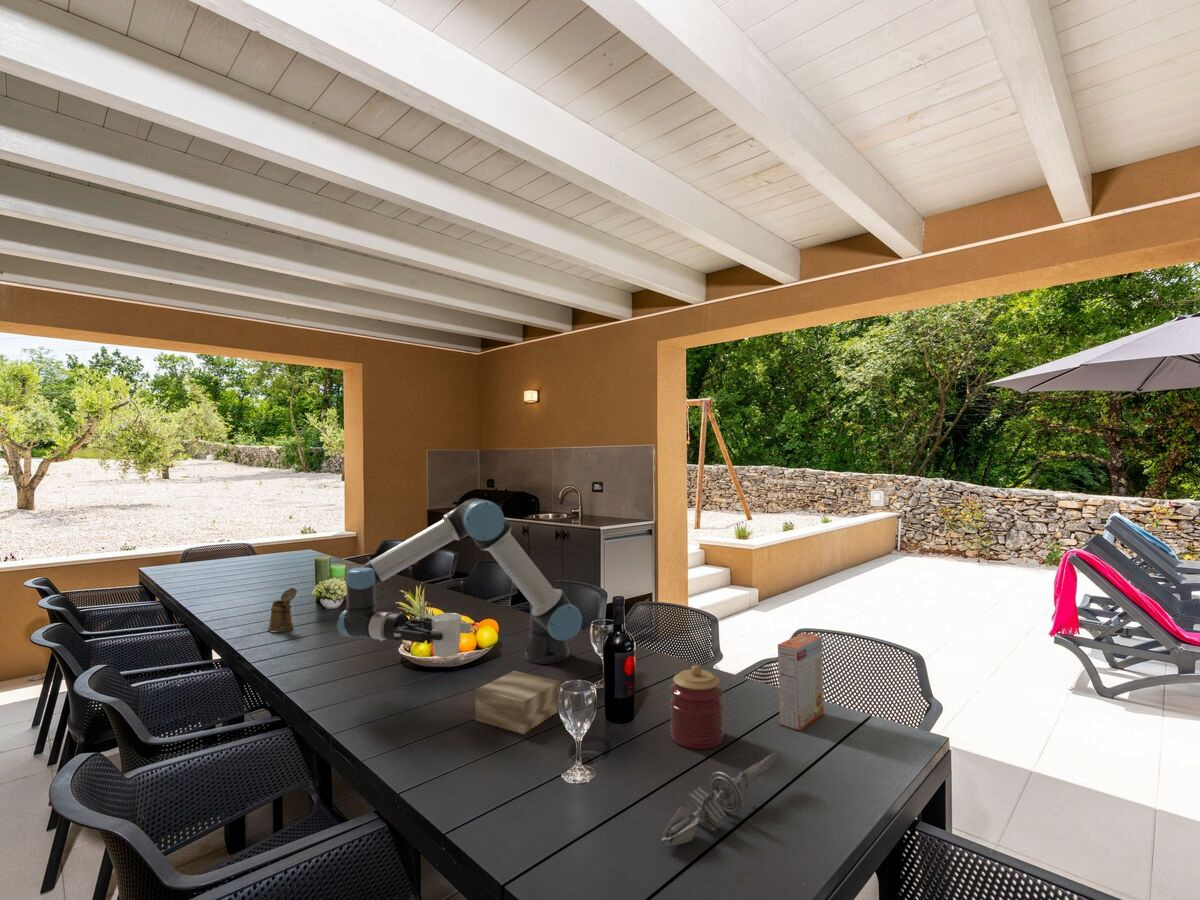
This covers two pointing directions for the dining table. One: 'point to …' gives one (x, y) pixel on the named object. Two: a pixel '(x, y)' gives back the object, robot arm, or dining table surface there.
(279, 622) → the wooden mug
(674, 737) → the canister
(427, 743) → the dining table surface
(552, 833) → the dining table surface
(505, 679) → the riser block
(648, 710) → the dining table surface
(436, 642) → the white cup
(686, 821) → the spaceship
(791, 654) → the cracker box
